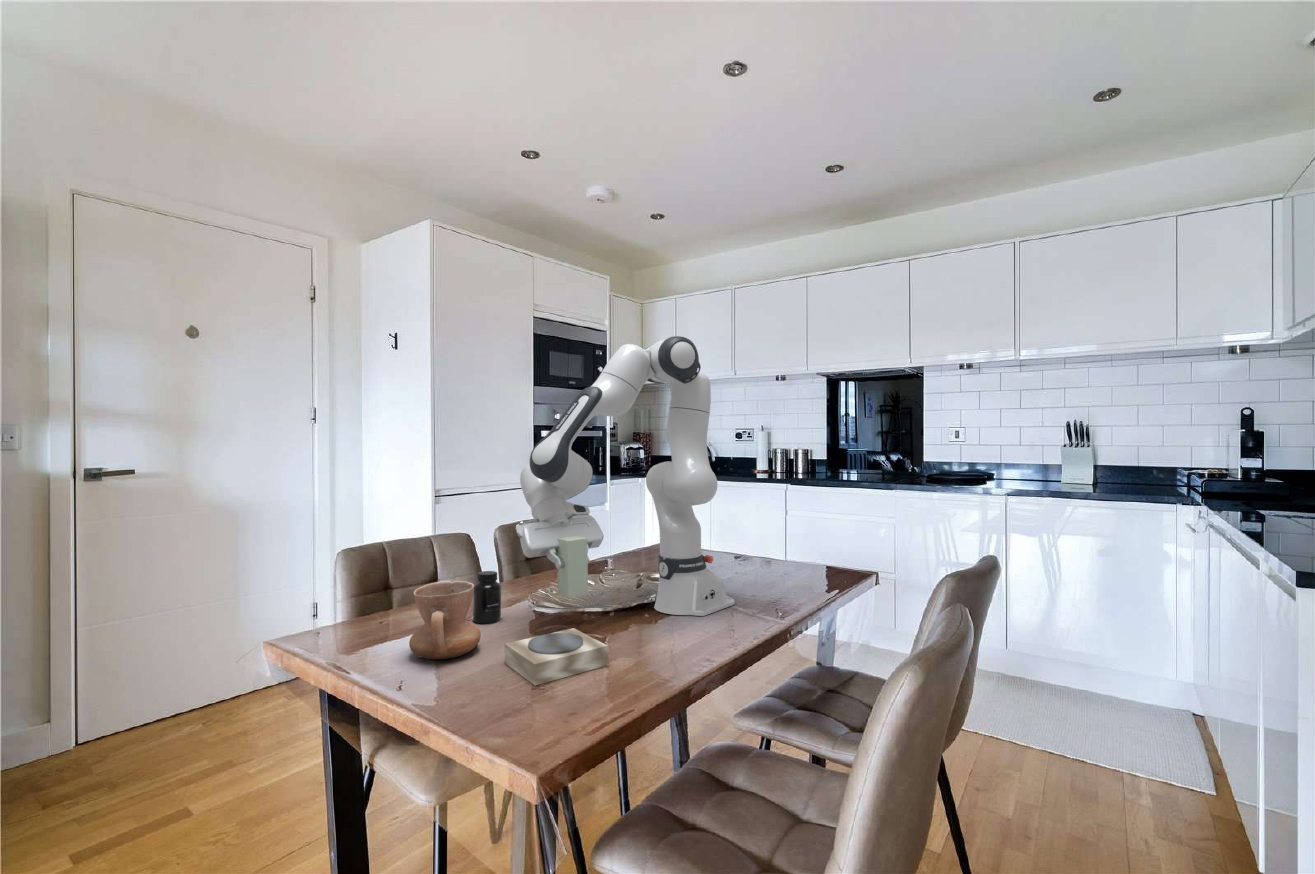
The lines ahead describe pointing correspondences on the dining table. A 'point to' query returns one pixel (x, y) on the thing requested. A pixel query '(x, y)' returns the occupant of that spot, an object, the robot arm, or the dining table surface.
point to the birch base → (555, 655)
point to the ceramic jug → (444, 620)
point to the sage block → (573, 567)
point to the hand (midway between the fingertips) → (574, 564)
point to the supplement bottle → (487, 598)
